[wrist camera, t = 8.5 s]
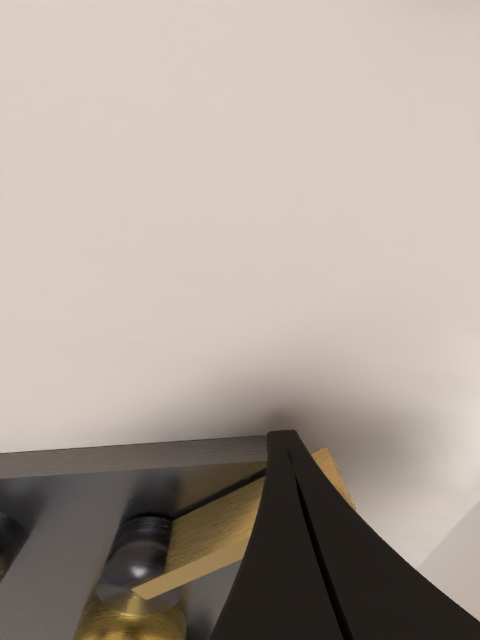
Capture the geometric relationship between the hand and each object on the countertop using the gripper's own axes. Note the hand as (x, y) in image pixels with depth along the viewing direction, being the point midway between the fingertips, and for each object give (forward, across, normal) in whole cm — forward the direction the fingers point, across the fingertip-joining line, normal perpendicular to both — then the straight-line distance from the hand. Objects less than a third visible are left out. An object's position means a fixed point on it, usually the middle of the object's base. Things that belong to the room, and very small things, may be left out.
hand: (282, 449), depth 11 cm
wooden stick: (+1, +3, +4) cm, 5 cm away
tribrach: (+2, +9, +12) cm, 15 cm away
